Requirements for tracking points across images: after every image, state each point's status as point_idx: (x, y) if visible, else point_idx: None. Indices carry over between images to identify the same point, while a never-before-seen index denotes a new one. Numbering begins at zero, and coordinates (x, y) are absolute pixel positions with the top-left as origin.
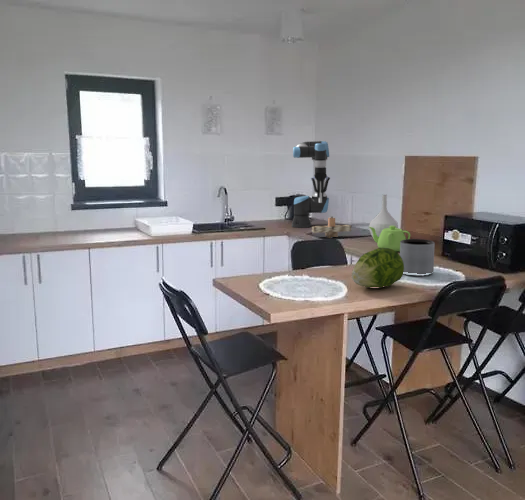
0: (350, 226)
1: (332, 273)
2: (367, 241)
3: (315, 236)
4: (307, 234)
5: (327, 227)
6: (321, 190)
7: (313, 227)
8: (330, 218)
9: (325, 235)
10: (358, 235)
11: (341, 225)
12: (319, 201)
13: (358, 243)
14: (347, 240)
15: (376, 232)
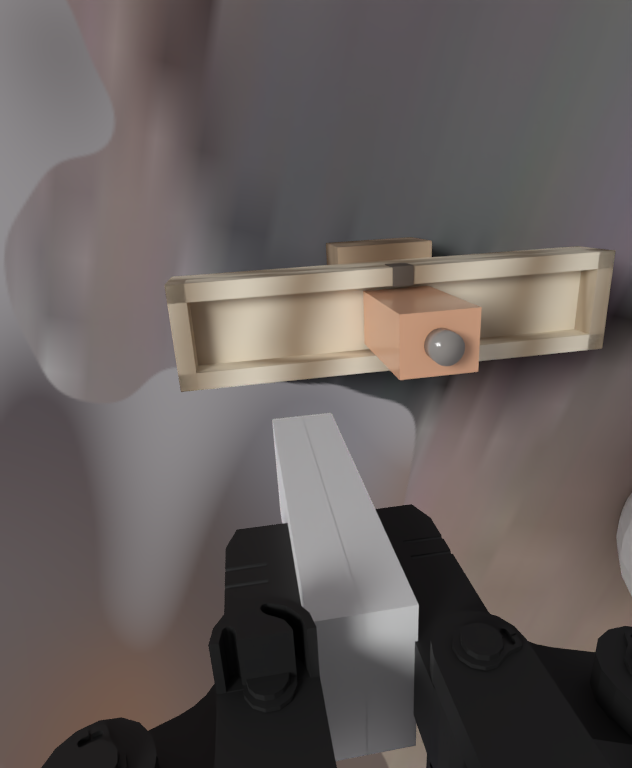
0: (590, 348)
1: None
2: (559, 527)
3: (225, 224)
4: (153, 55)
5: (339, 373)
6: (486, 737)
7: (176, 356)
8: (412, 377)
9: (327, 244)
10: (626, 259)
11: (530, 273)
12: (280, 501)
13: None
14: (444, 474)
15: None
